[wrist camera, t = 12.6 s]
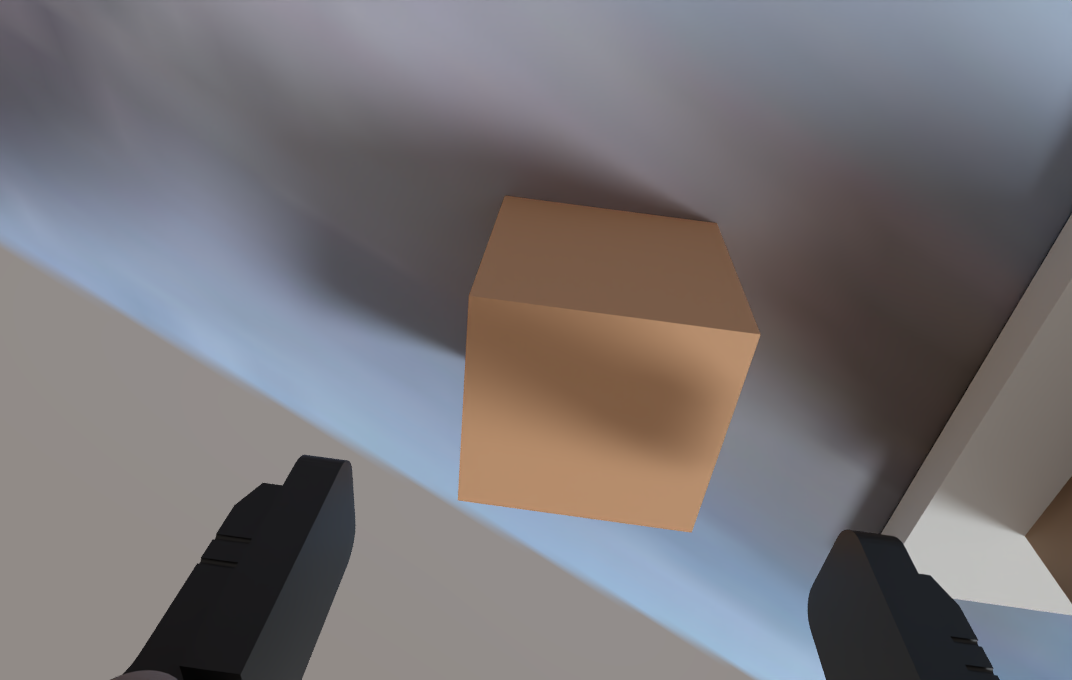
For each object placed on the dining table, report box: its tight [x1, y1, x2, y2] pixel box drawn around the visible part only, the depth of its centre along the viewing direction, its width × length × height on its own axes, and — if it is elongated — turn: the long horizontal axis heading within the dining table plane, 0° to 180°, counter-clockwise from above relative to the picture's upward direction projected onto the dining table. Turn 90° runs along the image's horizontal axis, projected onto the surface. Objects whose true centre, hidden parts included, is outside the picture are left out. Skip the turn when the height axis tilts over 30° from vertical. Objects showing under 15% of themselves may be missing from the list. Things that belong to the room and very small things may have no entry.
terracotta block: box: [458, 196, 761, 532], centre depth 14 cm, size 5×5×5 cm
